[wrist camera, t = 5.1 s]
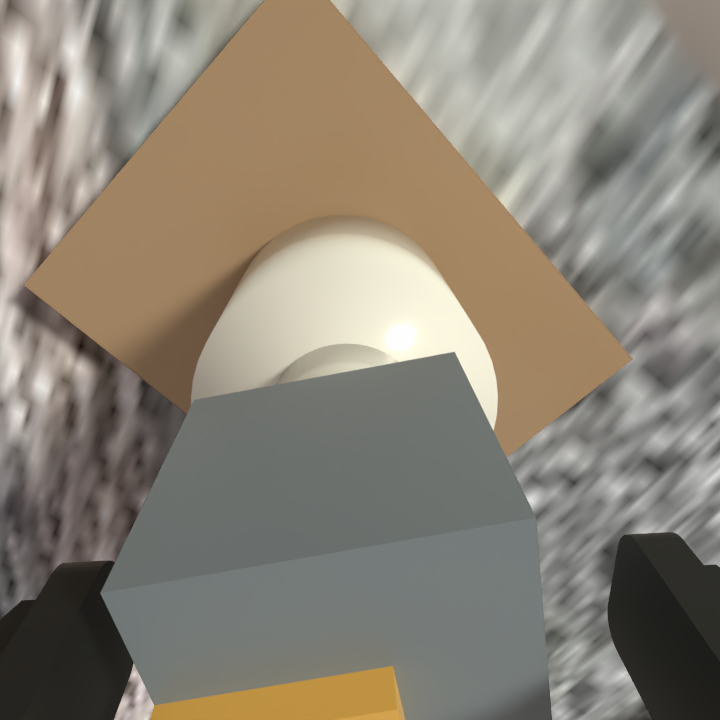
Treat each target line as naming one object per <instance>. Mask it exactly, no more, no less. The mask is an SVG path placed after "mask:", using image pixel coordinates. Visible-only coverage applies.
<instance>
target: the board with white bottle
mask: <svg viewBox="0 0 720 720" xmlns="http://www.w3.org/2000/svg"><path fill="white" fill-rule="evenodd" d="M24 286H25V287H27V288H28V289H29V290H31V291H32V292H33V293H34V294H36V295H37V296H38V297H39V298H41V299H42V300H43V301H44V302H46V303H47V304H48V305H50V306H51V307H52V308H53V309H55V310H56V311H57V312H58V313H60V314H61V315H62V316H63V317H65V318H66V319H67V320H68V321H70V322H71V323H72V324H74V325H75V326H76V327H77V328H79V329H80V330H81V331H82V332H84V333H85V334H86V335H87V336H89V337H90V338H91V339H93V340H94V341H95V342H96V343H98V344H99V345H100V346H101V347H103V348H104V349H105V350H106V351H108V352H109V353H110V354H111V355H113V356H114V357H115V358H117V359H118V360H119V361H120V362H122V363H123V364H124V365H125V366H127V367H128V368H129V369H130V370H132V371H133V372H134V373H136V374H137V375H138V376H139V377H141V378H142V379H143V380H144V381H146V382H147V383H148V384H149V385H151V386H152V387H153V388H155V389H156V390H157V391H158V392H160V393H161V394H162V395H163V396H165V397H166V398H167V399H168V400H170V401H171V402H172V403H173V404H175V405H176V406H177V407H179V408H180V409H181V410H182V411H184V412H185V413H186V414H187V413H188V411H189V409H190V407H191V405H192V403H193V401H194V400H196V399H202V398H207V397H212V396H218V395H223V394H229V393H234V392H240V391H245V390H250V389H256V388H261V387H267V386H272V385H277V384H283V383H288V382H294V381H299V380H304V379H310V378H315V377H321V376H326V375H331V374H337V373H342V372H348V371H353V370H358V369H364V368H369V367H375V366H380V365H385V364H391V363H396V362H402V361H407V360H412V359H418V358H423V357H429V356H434V355H439V354H445V353H450V352H455V354H456V356H457V358H458V360H459V362H460V364H461V366H462V368H463V370H464V372H465V374H466V376H467V378H468V380H469V382H470V384H471V386H472V388H473V390H474V392H475V394H476V396H477V398H478V401H479V403H480V405H481V407H482V409H483V411H484V413H485V415H486V417H487V419H488V421H489V423H490V425H491V427H492V429H493V431H494V433H495V435H496V437H497V439H498V441H499V443H500V445H501V447H502V449H503V452H504V454H505V456H506V457H507V456H509V455H510V454H511V453H513V452H514V451H515V450H516V449H518V448H519V447H520V446H522V445H523V444H524V443H525V442H527V441H528V440H529V439H531V438H532V437H533V436H534V435H536V434H537V433H538V432H540V431H541V430H542V429H543V428H545V427H546V426H547V425H549V424H550V423H551V422H552V421H554V420H555V419H556V418H558V417H559V416H560V415H562V414H563V413H564V412H565V411H567V410H568V409H569V408H571V407H572V406H573V405H574V404H576V403H577V402H578V401H580V400H581V399H582V398H583V397H585V396H586V395H587V394H589V393H590V392H591V391H592V390H594V389H595V388H596V387H598V386H599V385H600V384H601V383H603V382H604V381H605V380H607V379H608V378H609V377H610V376H612V375H613V374H614V373H616V372H617V371H618V370H619V369H621V368H622V367H623V366H625V365H626V364H627V363H628V362H630V361H631V360H632V358H631V356H630V355H629V354H628V353H627V352H626V350H625V349H624V348H623V347H622V346H621V345H620V343H619V342H618V341H617V340H616V339H615V337H614V336H613V335H612V334H611V333H610V331H609V330H608V329H607V328H606V327H605V326H604V324H603V323H602V322H601V321H600V320H599V318H598V317H597V316H596V315H595V314H594V313H593V311H592V310H591V309H590V308H589V307H588V305H587V304H586V303H585V302H584V301H583V300H582V298H581V297H580V296H579V295H578V294H577V292H576V291H575V290H574V289H573V288H572V286H571V285H570V284H569V283H568V282H567V281H566V279H565V278H564V277H563V276H562V275H561V273H560V272H559V271H558V270H557V269H556V268H555V266H554V265H553V264H552V263H551V262H550V260H549V259H548V258H547V257H546V256H545V254H544V253H543V252H542V251H541V250H540V249H539V247H538V246H537V245H536V244H535V243H534V241H533V240H532V239H531V238H530V237H529V236H528V234H527V233H526V232H525V231H524V230H523V228H522V227H521V226H520V225H519V224H518V222H517V221H516V220H515V219H514V218H513V217H512V215H511V214H510V213H509V212H508V211H507V209H506V208H505V207H504V206H503V205H502V204H501V202H500V201H499V200H498V199H497V198H496V196H495V195H494V194H493V193H492V192H491V191H490V189H489V188H488V187H487V186H486V185H485V183H484V182H483V181H482V180H481V179H480V177H479V176H478V175H477V174H476V173H475V172H474V170H473V169H472V168H471V167H470V166H469V164H468V163H467V162H466V161H465V160H464V159H463V157H462V156H461V155H460V154H459V153H458V151H457V150H456V149H455V148H454V147H453V145H452V144H451V143H450V142H449V141H448V140H447V138H446V137H445V136H444V135H443V134H442V132H441V131H440V130H439V129H438V128H437V127H436V125H435V124H434V123H433V122H432V121H431V119H430V118H429V117H428V116H427V115H426V113H425V112H424V111H423V110H422V109H421V108H420V106H419V105H418V104H417V103H416V102H415V100H414V99H413V98H412V97H411V96H410V95H409V93H408V92H407V91H406V90H405V89H404V87H403V86H402V85H401V84H400V83H399V82H398V80H397V79H396V78H395V77H394V76H393V74H392V73H391V72H390V71H389V70H388V68H387V67H386V66H385V65H384V64H383V63H382V61H381V60H380V59H379V58H378V57H377V55H376V54H375V53H374V52H373V51H372V50H371V48H370V47H369V46H368V45H367V44H366V42H365V41H364V40H363V39H362V38H361V36H360V35H359V34H358V33H357V32H356V31H355V29H354V28H353V27H352V26H351V25H350V23H349V22H348V21H347V20H346V19H345V18H344V16H343V15H342V14H341V13H340V12H339V10H338V9H337V8H336V7H335V6H334V4H333V3H332V2H331V1H330V0H264V1H263V3H262V4H261V5H260V6H259V7H258V8H257V10H256V11H255V12H254V13H253V14H252V16H251V17H250V18H249V19H248V20H247V21H246V23H245V24H244V25H243V26H242V27H241V29H240V30H239V31H238V32H237V33H236V34H235V36H234V37H233V38H232V39H231V40H230V42H229V43H228V44H227V45H226V46H225V47H224V49H223V50H222V51H221V52H220V53H219V55H218V56H217V57H216V58H215V59H214V61H213V62H212V63H211V64H210V65H209V66H208V68H207V69H206V70H205V71H204V72H203V74H202V75H201V76H200V77H199V78H198V79H197V81H196V82H195V83H194V84H193V85H192V87H191V88H190V89H189V90H188V91H187V92H186V94H185V95H184V96H183V97H182V98H181V100H180V101H179V102H178V103H177V104H176V105H175V107H174V108H173V109H172V110H171V111H170V113H169V114H168V115H167V116H166V117H165V119H164V120H163V121H162V122H161V123H160V124H159V126H158V127H157V128H156V129H155V130H154V132H153V133H152V134H151V135H150V136H149V137H148V139H147V140H146V141H145V142H144V143H143V145H142V146H141V147H140V148H139V149H138V150H137V152H136V153H135V154H134V155H133V156H132V158H131V159H130V160H129V161H128V162H127V163H126V165H125V166H124V167H123V168H122V169H121V171H120V172H119V173H118V174H117V175H116V177H115V178H114V179H113V180H112V181H111V182H110V184H109V185H108V186H107V187H106V188H105V190H104V191H103V192H102V193H101V194H100V195H99V197H98V198H97V199H96V200H95V201H94V203H93V204H92V205H91V206H90V207H89V208H88V210H87V211H86V212H85V213H84V214H83V216H82V217H81V218H80V219H79V220H78V221H77V223H76V224H75V225H74V226H73V227H72V229H71V230H70V231H69V232H68V233H67V235H66V236H65V237H64V238H63V239H62V240H61V242H60V243H59V244H58V245H57V246H56V248H55V249H54V250H53V251H52V252H51V253H50V255H49V256H48V257H47V258H46V259H45V261H44V262H43V263H42V264H41V265H40V266H39V268H38V269H37V270H36V271H35V272H34V274H33V275H32V276H31V277H30V278H29V279H28V281H27V282H26V283H25V284H24Z"/></svg>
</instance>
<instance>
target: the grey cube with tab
mask: <svg viewBox="0 0 720 720" xmlns="http://www.w3.org/2000/svg"><path fill="white" fill-rule="evenodd" d="M100 594H101V596H102V598H103V600H104V602H105V604H106V606H107V608H108V610H109V612H110V614H111V617H112V619H113V621H114V623H115V625H116V627H117V629H118V631H119V633H120V635H121V637H122V639H123V641H124V643H125V645H126V648H127V650H128V652H129V654H130V656H131V658H132V660H133V662H134V664H135V666H136V668H137V670H138V672H139V674H140V677H141V679H142V681H143V683H144V685H145V687H146V689H147V691H148V693H149V695H150V697H151V699H152V701H153V703H154V709H153V712H152V715H151V719H150V720H552V715H551V702H550V690H549V677H548V664H547V652H546V639H545V626H544V614H543V601H542V588H541V576H540V563H539V550H538V538H537V525H536V517H535V515H534V513H533V511H532V509H531V507H530V505H529V503H528V501H527V498H526V496H525V494H524V492H523V490H522V488H521V486H520V484H519V482H518V480H517V478H516V476H515V474H514V472H513V470H512V468H511V466H510V464H509V462H508V460H507V458H506V456H505V454H504V452H503V449H502V447H501V445H500V443H499V441H498V439H497V437H496V435H495V433H494V431H493V429H492V427H491V425H490V423H489V421H488V419H487V417H486V415H485V413H484V411H483V409H482V407H481V405H480V403H479V401H478V398H477V396H476V394H475V392H474V390H473V388H472V386H471V384H470V382H469V380H468V378H467V376H466V374H465V372H464V370H463V368H462V366H461V364H460V362H459V360H458V358H457V356H456V354H455V352H450V353H445V354H439V355H434V356H429V357H423V358H418V359H412V360H407V361H402V362H396V363H391V364H385V365H380V366H375V367H369V368H364V369H358V370H353V371H348V372H342V373H337V374H331V375H326V376H321V377H315V378H310V379H304V380H299V381H294V382H288V383H283V384H277V385H272V386H267V387H261V388H256V389H250V390H245V391H240V392H234V393H229V394H223V395H218V396H212V397H207V398H202V399H196V400H194V401H193V403H192V405H191V407H190V409H189V411H188V413H187V415H186V417H185V420H184V422H183V424H182V426H181V428H180V430H179V432H178V434H177V436H176V438H175V440H174V442H173V444H172V446H171V448H170V450H169V453H168V455H167V457H166V459H165V461H164V463H163V465H162V467H161V469H160V471H159V473H158V475H157V477H156V479H155V481H154V483H153V486H152V488H151V490H150V492H149V494H148V496H147V498H146V500H145V502H144V504H143V506H142V508H141V510H140V512H139V514H138V516H137V518H136V521H135V523H134V525H133V527H132V529H131V531H130V533H129V535H128V537H127V539H126V541H125V543H124V545H123V547H122V549H121V551H120V554H119V556H118V558H117V560H116V562H115V564H114V566H113V568H112V570H111V572H110V574H109V576H108V578H107V580H106V582H105V584H104V587H103V589H102V591H101V593H100Z"/></svg>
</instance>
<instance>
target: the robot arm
mask: <svg viewBox="0 0 720 720" xmlns="http://www.w3.org/2000/svg"><path fill="white" fill-rule="evenodd" d="M114 564H115V563H114V562H113V561H93V562H75V563H63V564H61V565H59V566H58V567H57V568H56V569H55V570H54V572H53V573H52V575H51V576H50V578H49V580H48V581H47V583H46V585H45V586H44V588H43V589H42V591H41V593H40V594H39V596H38V597H37V599H36V600H24V601H21V602H20V603H19V604H18V605H17V606H15V607H14V608H13V609H12V610H11V611H10V612H9V613H7V614H6V615H5V616H4V617H3V618H2V619H1V620H0V720H114V717H115V715H116V712H117V709H118V707H119V704H120V701H121V699H122V696H123V693H124V690H125V688H126V685H127V682H128V680H129V677H130V674H131V671H132V667H133V660H132V658H131V656H130V654H129V652H128V650H127V648H126V645H125V643H124V641H123V639H122V637H121V635H120V633H119V631H118V629H117V627H116V625H115V623H114V621H113V619H112V617H111V614H110V612H109V610H108V608H107V606H106V604H105V602H104V600H103V598H102V596H101V594H100V593H101V591H102V589H103V587H104V584H105V582H106V580H107V578H108V576H109V574H110V572H111V570H112V568H113V566H114ZM608 622H609V628H610V632H611V636H612V639H613V642H614V645H615V647H616V649H617V652H618V653H619V655H620V657H621V659H622V661H623V663H624V665H625V667H626V669H627V671H628V673H629V675H630V677H631V679H632V681H633V683H634V684H635V686H636V688H637V690H638V692H639V694H640V696H641V698H642V700H643V702H644V704H645V706H646V708H647V710H648V712H649V714H650V716H651V717H652V719H653V720H720V567H718V566H717V565H703V564H702V563H701V561H700V560H699V559H698V558H697V556H696V555H695V554H694V553H693V551H692V550H691V549H690V548H689V547H688V545H687V544H686V543H685V542H684V540H683V539H682V538H681V537H680V536H679V535H677V534H675V533H672V532H667V533H648V534H629V535H624V536H622V538H621V539H620V541H619V545H618V550H617V555H616V561H615V567H614V573H613V579H612V585H611V591H610V596H609V602H608Z"/></svg>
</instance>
